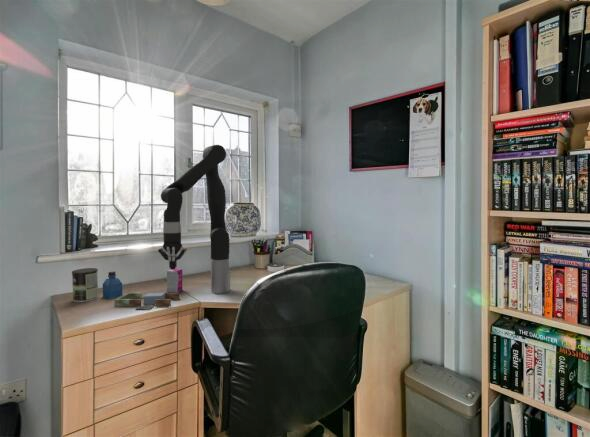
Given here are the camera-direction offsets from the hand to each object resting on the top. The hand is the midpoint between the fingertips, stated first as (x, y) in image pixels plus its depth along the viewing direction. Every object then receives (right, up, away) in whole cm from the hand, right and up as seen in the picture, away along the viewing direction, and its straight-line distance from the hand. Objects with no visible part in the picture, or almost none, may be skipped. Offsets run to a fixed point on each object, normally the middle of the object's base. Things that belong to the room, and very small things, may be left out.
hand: (172, 269), depth 142 cm
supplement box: (-6, -15, +19) cm, 25 cm away
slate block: (-9, -16, +1) cm, 18 cm away
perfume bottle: (-35, -16, +11) cm, 40 cm away
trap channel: (-12, -16, +1) cm, 20 cm away
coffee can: (-45, -16, +7) cm, 48 cm away
